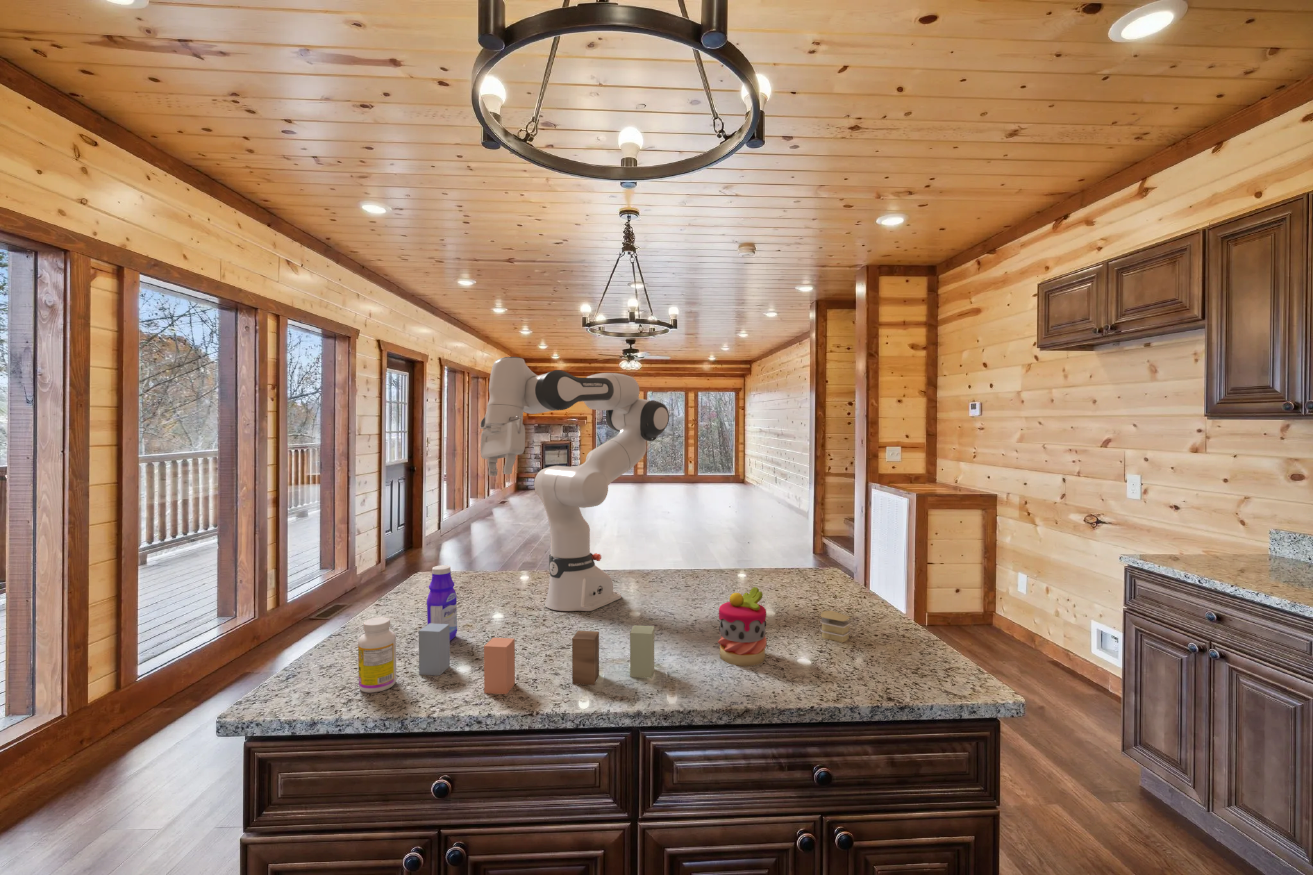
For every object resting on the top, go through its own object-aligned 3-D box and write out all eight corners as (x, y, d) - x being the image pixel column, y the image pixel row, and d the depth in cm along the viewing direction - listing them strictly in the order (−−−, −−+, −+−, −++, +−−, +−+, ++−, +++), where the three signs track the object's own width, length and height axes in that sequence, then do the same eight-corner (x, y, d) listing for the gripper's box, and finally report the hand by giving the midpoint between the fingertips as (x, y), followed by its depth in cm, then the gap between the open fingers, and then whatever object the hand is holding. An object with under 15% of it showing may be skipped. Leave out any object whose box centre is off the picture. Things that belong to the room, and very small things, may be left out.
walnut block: (577, 674, 118) (577, 630, 118) (599, 675, 118) (599, 631, 118) (572, 683, 114) (572, 638, 114) (594, 685, 113) (594, 639, 113)
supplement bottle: (367, 679, 116) (366, 615, 116) (401, 677, 116) (400, 614, 116) (352, 694, 109) (351, 627, 109) (388, 693, 110) (388, 626, 110)
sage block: (633, 667, 121) (633, 625, 121) (654, 668, 121) (654, 626, 121) (630, 677, 117) (630, 632, 117) (651, 678, 117) (651, 633, 116)
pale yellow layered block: (862, 638, 139) (862, 615, 139) (845, 649, 132) (845, 625, 132) (823, 628, 146) (823, 606, 146) (805, 638, 139) (806, 615, 139)
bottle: (444, 646, 133) (444, 571, 132) (422, 644, 134) (421, 569, 134) (461, 635, 140) (460, 563, 140) (440, 633, 141) (439, 562, 141)
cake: (736, 670, 120) (736, 598, 120) (709, 652, 130) (709, 586, 129) (776, 660, 125) (776, 592, 125) (747, 644, 134) (747, 580, 134)
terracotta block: (493, 682, 114) (493, 637, 114) (514, 683, 114) (514, 638, 114) (484, 692, 110) (483, 646, 110) (506, 694, 110) (506, 647, 109)
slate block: (429, 665, 123) (429, 623, 122) (449, 666, 122) (449, 624, 122) (419, 674, 118) (418, 630, 118) (439, 675, 118) (439, 631, 117)
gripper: (534, 416, 138) (529, 474, 136) (501, 426, 154) (496, 478, 152) (508, 412, 134) (503, 471, 132) (477, 423, 150) (473, 476, 148)
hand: (499, 475), depth 142 cm, fingers open, 8 cm apart
